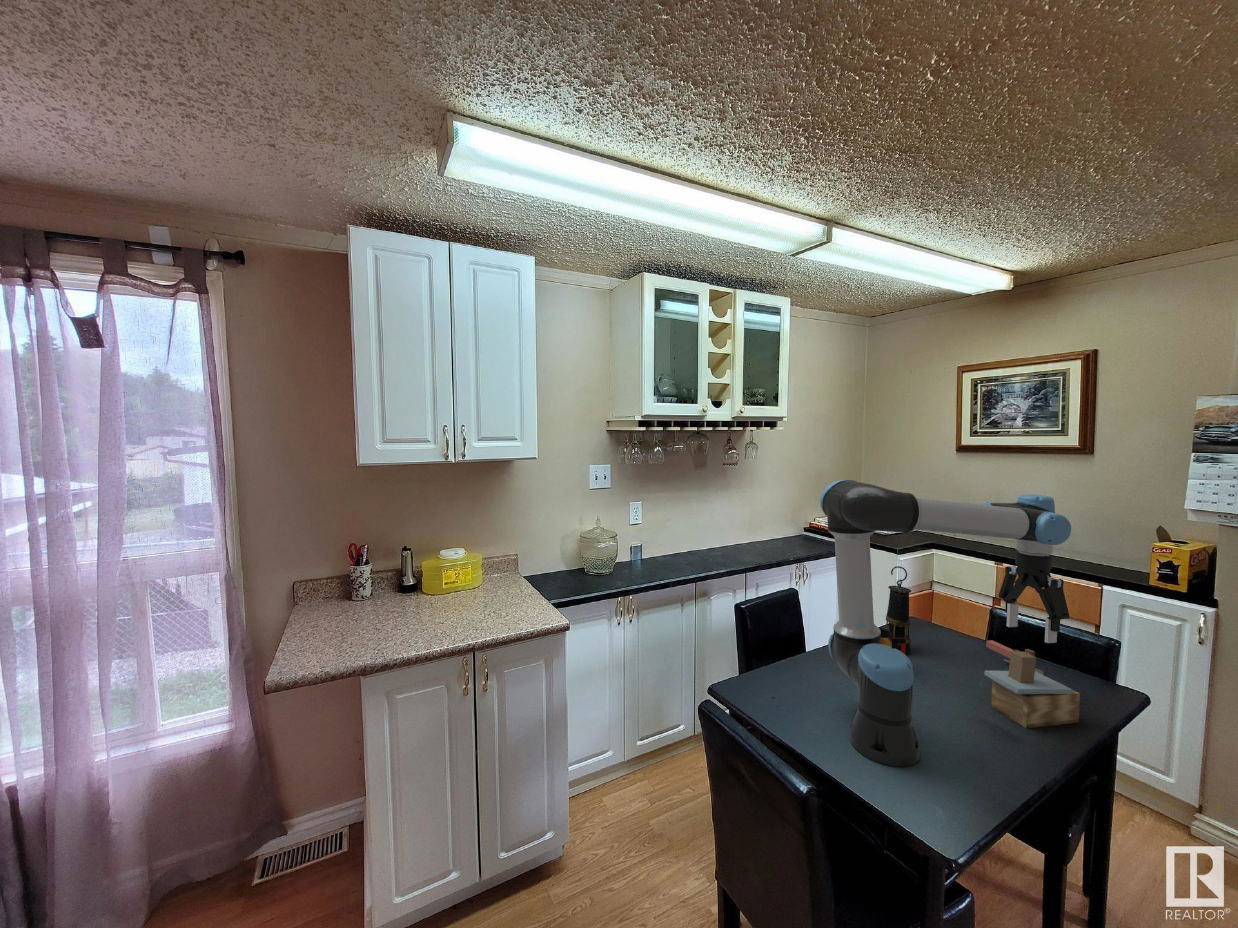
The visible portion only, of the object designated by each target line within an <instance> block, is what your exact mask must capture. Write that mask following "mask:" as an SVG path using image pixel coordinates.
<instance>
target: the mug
mask: <svg viewBox="0 0 1238 928" xmlns="http://www.w3.org/2000/svg"><path fill="white" fill-rule="evenodd" d="M877 627H878V626H877ZM878 628H879V629H880V631H881V644H883V645H887V646H890V647H891V648H892V644H897V643H901V652H902V653H904V654H905V655H906V653H905V651H906V639H905V638H892V634H891V632H889V630H888V629H887V630H886V628H882V627H878ZM906 656H907V655H906Z"/></svg>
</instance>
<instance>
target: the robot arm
mask: <svg viewBox="0 0 1238 928" xmlns="http://www.w3.org/2000/svg"><path fill="white" fill-rule="evenodd" d="M819 501H820V503H819V504H820V507H821V510H822V512H823V514H824V515H825V516H826V521H827V531H828V532H829V534H831V535H832V536H833V538H834V553H835V555H834V556H835V569H836V570H835V572H836V587H837V590H836V591H837V606H838V608H837V609H838V621H837V622H836V623H835V624H833V633H832V634H830V636H829V638H828V643H827V645H828V646H827V647H828V652H829V655H830V657H831V659H832V660H833V662H834V663H835V666H837V668H839V669H840V670H841V671H842V672H843V673H844V674H845V675H846V676H847V677H848V679H849V680H851V681H852V682H853V684H854V685H855V686H856V687H857V691H858V692H857V711H856V713H855V716H854V719H853V722H852V723H851V724H850V728H849V741H850V743H851V745H852V746H853V748H854V749H856V751H858V752H859V754H861V755H862V756H864V757H867V759H870V760H872V761H875V762H876V763H879V764H883V765H886V766H892V767H909V766H913V765H915V764H916V763H918V762H919V760H920V756H921V755H920V753H921V752H920V751H921V750H920V743H919V741H918V740H919V739H918V738H917V734H916V731H915V728H914V725H913V699H914V698H913V697H914V695H913V693H914V682H915V675H914V666H913V663H912V661H911V660H910V658H909V657H908V655H905V654H904V653H902V652H901V651H899V650H897V649H892V648H891V647H890V646H887V645H883V644H881V631H880V629H879V628H880V627H879V628H878V626H877V625H876V624H875V621H874V619H875V618H874V604H873V603H874V599H873V580H872V576H873V575H872V560H871V559H872V558H871V541H870V539H871V538H870V537H871V536H873V534H874V533H875V532H893V533H904V534H906V533H907V534H908V533H909V534H910V533H912V532H914V531H915V530H919V531H926V532H927V531H930V532H940V533H949V534H950V533H951V534H962V535H971V536H978V537H979V536H980V537H990V538H1001V539H1002V538H1003V539H1012V540H1013V539H1014V540H1015V550H1017V551H1016V552H1015V560H1014V562H1015V565H1016V566H1015V565H1012V566H1011V565H1009V566H1007V565H1006V566H1005V567H1004V569H1005V573H1004V577H1003V580H1002V583H1001V587H1000V590H999V592H998V598H1000V599H1002V600H1003V601H1004V602H1005V606H1004V607H1005V608H1004V609H1005V611H1004V612H1005V614H1006V627H1008V628H1017V627H1019V603H1017V602H1019V601H1017V600H1018V599H1019V597H1020V596H1021V595H1022V593H1023V592H1024V591H1025V589H1026V588H1027V587H1030V588H1032V589H1034V590H1035V592H1036V593H1038V595H1039V597H1040V599H1041V602H1042V604H1043V607H1044V608H1045V611H1046V613H1047V615H1048V616H1047V617H1045V623H1044V625H1045V626H1044V627H1045V629H1044V643H1045V644H1046V643H1047V644H1055V643H1057V642H1058V641H1057V639H1058V632H1060V630H1061V620H1069V619H1070V613H1069V609H1068V604H1067V599H1066V595H1065V592H1064V585H1065V584H1064V583H1065V581H1064V579H1062V578H1055V577H1053V576H1052V575H1051V570H1052V569H1053V558H1054V557H1053V556H1052V554H1053V552H1054V546H1059V545H1061V544H1063V543H1066V541H1068V539H1069V538H1070V536H1071V534H1072V533H1071V532H1072V525H1071V522H1070V521H1069V519H1068V518H1067V517H1066V516H1065V515H1063V514H1060V513H1056V507H1055V506H1056V505H1055V499H1054V498H1053V497H1052V496H1049V495H1042V494H1029V493H1028V494H1027V493H1026V494H1020V495H1019V496H1018V497H1017V501H1016V502H980V503H977V504H976V503H970V502H969V503H968V502H961V501H960V502H957V501H949V500H939V499H930V498H918V497H917V496H916V495H915V494H913V493H910V492H902V491H898V490H897V491H896V490H892V489H889V488H885V487H881V486H878V485H875V484H872V483H864V482H860V481H857V480H853V479H840V480H835V481H833V482H831V483H830V484H828V485H827V486H826V487H825V488H824V489H823V491H822V493H821V495H820V500H819ZM1017 576H1018V577H1017Z"/></svg>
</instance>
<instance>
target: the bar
mask: <svg viewBox="0 0 1238 928" xmlns="http://www.w3.org/2000/svg"><path fill="white" fill-rule="evenodd" d="M985 647H986V648H987V649H989V650H992V651H994V652H996V653H998V654H1001V656H1004V657H1006V658H1009V659H1010V655H1011V652H1013V650H1014V649H1012V648H1010V647H1008V646H1006V645H1003V644H1001V643H999V642H997V641H995V640H991V639H990V640H986V645H985Z"/></svg>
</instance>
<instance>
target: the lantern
mask: <svg viewBox="0 0 1238 928" xmlns="http://www.w3.org/2000/svg"><path fill="white" fill-rule="evenodd" d="M897 568H898V569H902V570H903V571H904V574H905V576H904V578H903V579H898V580H897V581H896V585H888V587H887V588H888V589H889V595H888V604H887V605H888V606H887V612H886V615H885V621H886V626H885V630H887V631H889V632H891V634H892V638H905V639H906V651H905V653H906V656H909V655H910V654H912V649H911V642H912V639H911V638H910V625H911V620H910V594H911V593H912V590H911V589H910V588H908V587H905V586H902V585H903V582H904V581H905V580H906V579H907V578H908V572H907V570H906V569H905V567H903V566H898V565H897V566H894V567H893V568H892V569H891V571H890V575H892V576H893V573H894V572H893V571H894V570H895V569H897ZM899 582H900V583H899ZM892 649H897V650H899V651H901V643H897V644H892Z"/></svg>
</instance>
